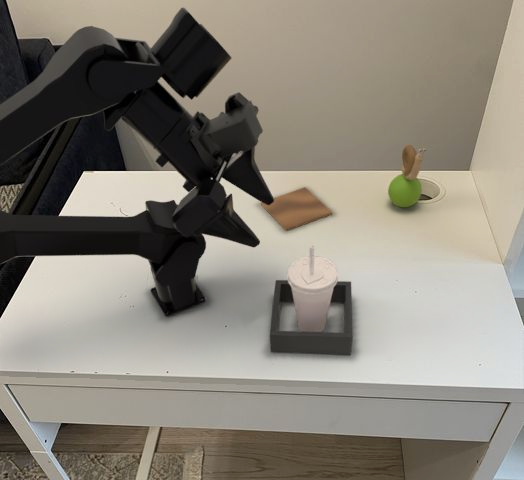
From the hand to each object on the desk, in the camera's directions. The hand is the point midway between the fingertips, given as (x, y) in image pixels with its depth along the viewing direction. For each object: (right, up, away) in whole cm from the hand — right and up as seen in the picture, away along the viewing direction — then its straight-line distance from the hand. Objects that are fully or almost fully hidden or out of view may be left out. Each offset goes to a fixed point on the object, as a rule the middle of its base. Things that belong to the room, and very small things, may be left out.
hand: (264, 223), depth 68 cm
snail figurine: (+24, +9, +25) cm, 35 cm away
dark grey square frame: (+7, -12, +7) cm, 16 cm away
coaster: (+6, +8, +26) cm, 28 cm away
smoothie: (+7, -13, +8) cm, 16 cm away
